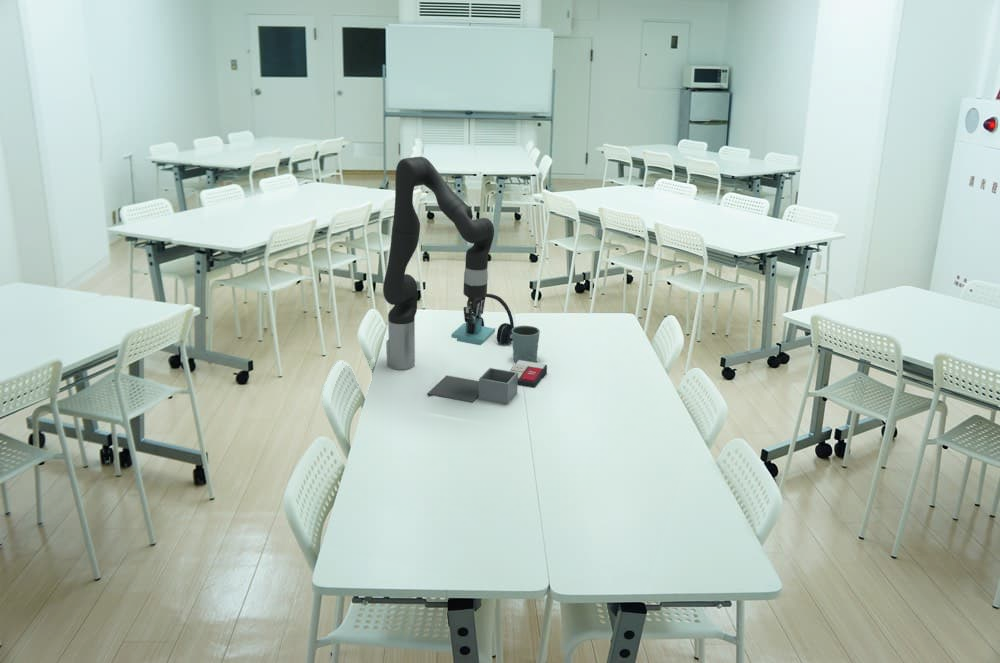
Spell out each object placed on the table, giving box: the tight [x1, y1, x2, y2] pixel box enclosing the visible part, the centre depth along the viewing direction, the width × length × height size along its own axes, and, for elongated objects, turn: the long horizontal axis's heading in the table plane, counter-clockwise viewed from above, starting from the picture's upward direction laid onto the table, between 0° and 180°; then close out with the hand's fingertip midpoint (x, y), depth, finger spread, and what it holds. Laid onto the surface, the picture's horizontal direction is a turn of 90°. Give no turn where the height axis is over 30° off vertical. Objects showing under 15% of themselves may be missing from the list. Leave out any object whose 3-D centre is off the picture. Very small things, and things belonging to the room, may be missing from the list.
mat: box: [426, 375, 479, 404], centre depth 285 cm, size 16×16×1 cm
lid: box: [451, 318, 496, 346], centre depth 276 cm, size 11×11×7 cm
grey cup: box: [512, 325, 541, 364], centre depth 309 cm, size 10×10×12 cm
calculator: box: [509, 360, 548, 389], centre depth 295 cm, size 11×4×15 cm
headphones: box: [480, 293, 515, 345], centre depth 327 cm, size 20×7×18 cm, turn 57°
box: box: [478, 367, 519, 406], centre depth 279 cm, size 10×10×8 cm
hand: (473, 330), depth 276 cm, fingers closed on lid, 4 cm apart
